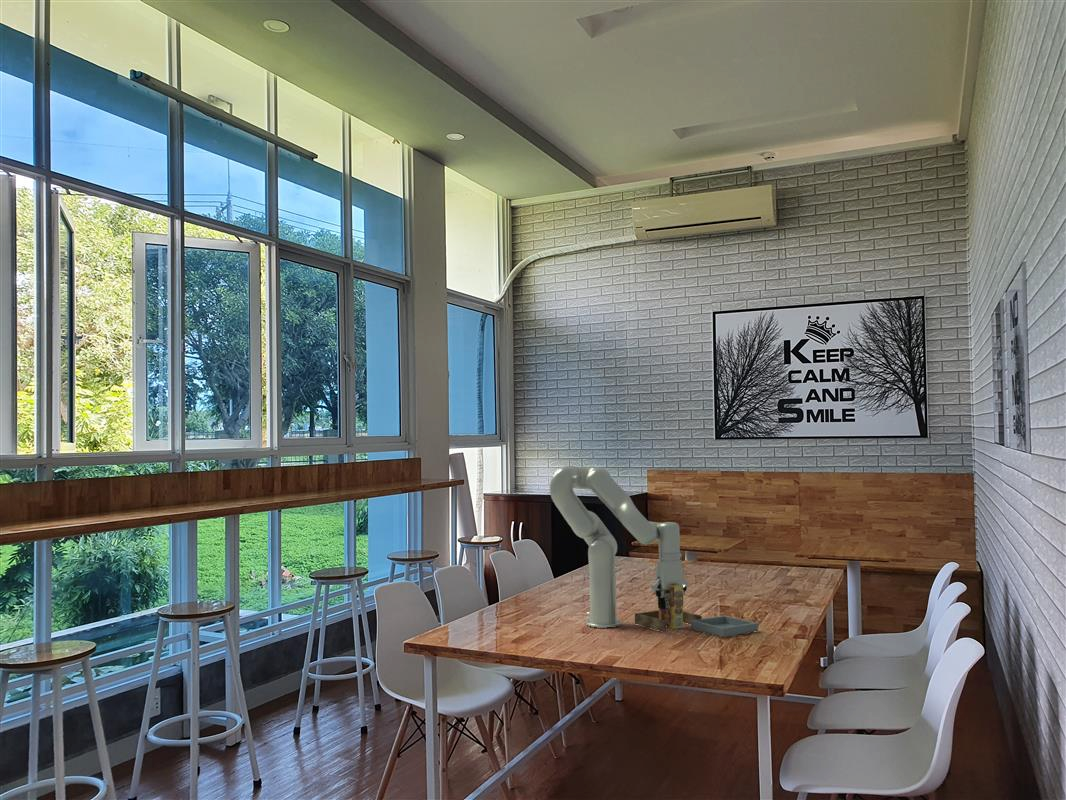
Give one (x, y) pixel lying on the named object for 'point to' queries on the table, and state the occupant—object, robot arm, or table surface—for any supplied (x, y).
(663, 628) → the walnut bay
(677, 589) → the candy box
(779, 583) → the table surface
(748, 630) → the slate tray
